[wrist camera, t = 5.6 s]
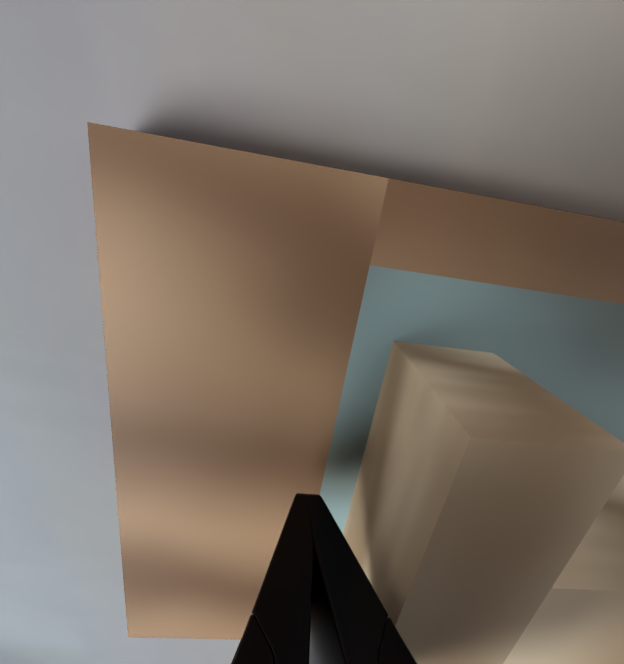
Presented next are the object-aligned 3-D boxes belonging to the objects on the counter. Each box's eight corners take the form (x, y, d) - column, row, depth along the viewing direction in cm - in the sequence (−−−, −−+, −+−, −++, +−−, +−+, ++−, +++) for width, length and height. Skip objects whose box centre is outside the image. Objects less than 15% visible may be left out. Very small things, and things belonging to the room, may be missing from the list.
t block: (331, 578, 12) (348, 741, 8) (393, 340, 9) (470, 437, 5) (563, 586, 13) (672, 734, 9) (701, 378, 10) (957, 481, 6)
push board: (511, 606, 16) (532, 644, 15) (144, 595, 14) (128, 637, 13) (724, 248, 10) (796, 254, 8) (123, 138, 8) (87, 122, 6)
